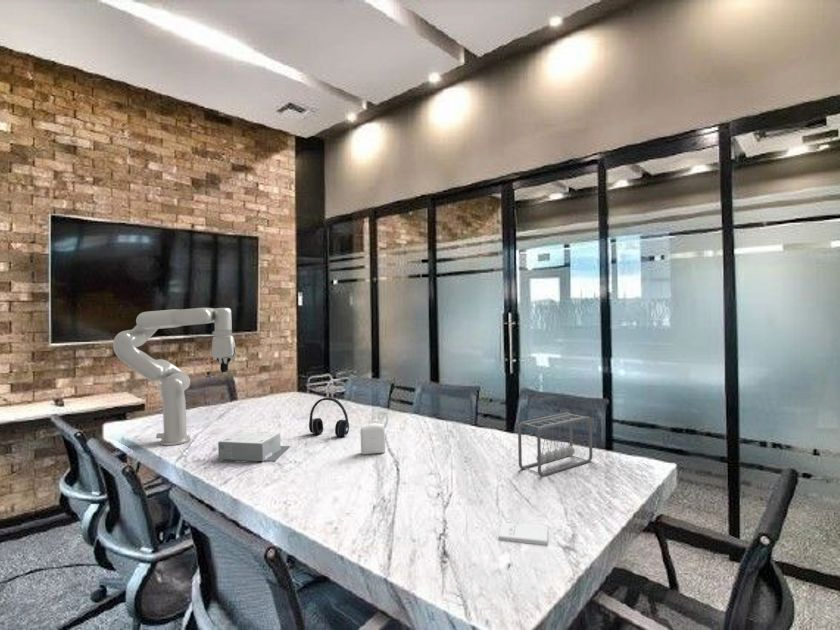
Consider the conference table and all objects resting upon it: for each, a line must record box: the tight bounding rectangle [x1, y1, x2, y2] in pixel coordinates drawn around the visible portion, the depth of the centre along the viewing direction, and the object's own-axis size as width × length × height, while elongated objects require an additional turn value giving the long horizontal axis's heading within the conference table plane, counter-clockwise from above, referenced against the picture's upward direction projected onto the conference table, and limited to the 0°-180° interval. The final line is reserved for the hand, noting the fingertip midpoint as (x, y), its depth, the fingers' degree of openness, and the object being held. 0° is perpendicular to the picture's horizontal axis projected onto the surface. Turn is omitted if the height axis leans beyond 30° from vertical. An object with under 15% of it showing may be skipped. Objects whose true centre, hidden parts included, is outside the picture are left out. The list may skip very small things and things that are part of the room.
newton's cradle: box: [517, 411, 593, 477], centre depth 179 cm, size 30×10×18 cm, turn 123°
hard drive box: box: [217, 431, 282, 463], centre depth 198 cm, size 16×8×20 cm
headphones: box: [308, 397, 350, 438], centre depth 227 cm, size 20×7×18 cm, turn 71°
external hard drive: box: [498, 522, 549, 546], centre depth 125 cm, size 2×8×12 cm
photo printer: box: [360, 422, 386, 455], centre depth 199 cm, size 10×4×12 cm, turn 100°
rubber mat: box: [221, 445, 291, 463], centre depth 200 cm, size 22×20×1 cm
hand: (224, 371), depth 225 cm, fingers closed
